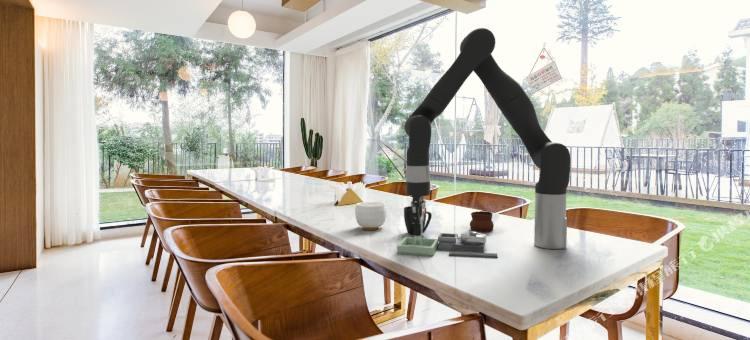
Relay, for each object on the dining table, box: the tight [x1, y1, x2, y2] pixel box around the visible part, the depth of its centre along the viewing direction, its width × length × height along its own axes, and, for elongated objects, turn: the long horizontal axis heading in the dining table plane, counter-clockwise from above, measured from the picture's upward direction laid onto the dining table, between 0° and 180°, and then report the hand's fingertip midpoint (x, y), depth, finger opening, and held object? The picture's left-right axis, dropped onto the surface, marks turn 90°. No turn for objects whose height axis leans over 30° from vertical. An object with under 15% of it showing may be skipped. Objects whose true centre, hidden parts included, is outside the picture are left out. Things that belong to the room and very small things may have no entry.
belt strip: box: [448, 250, 498, 259], centre depth 123 cm, size 14×2×1 cm, turn 78°
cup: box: [354, 201, 387, 231], centre depth 162 cm, size 12×12×10 cm
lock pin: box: [413, 209, 424, 245], centre depth 130 cm, size 4×4×11 cm
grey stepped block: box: [437, 230, 487, 253], centre depth 133 cm, size 15×10×5 cm
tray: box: [396, 236, 439, 257], centre depth 130 cm, size 11×11×2 cm
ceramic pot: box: [469, 210, 495, 233], centre depth 156 cm, size 18×18×7 cm
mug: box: [403, 205, 433, 236], centre depth 151 cm, size 8×12×10 cm
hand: (418, 234), depth 130 cm, fingers closed on lock pin, 2 cm apart
